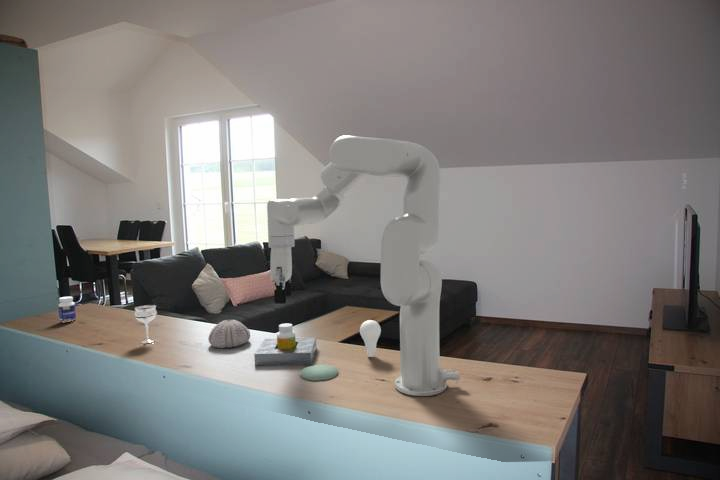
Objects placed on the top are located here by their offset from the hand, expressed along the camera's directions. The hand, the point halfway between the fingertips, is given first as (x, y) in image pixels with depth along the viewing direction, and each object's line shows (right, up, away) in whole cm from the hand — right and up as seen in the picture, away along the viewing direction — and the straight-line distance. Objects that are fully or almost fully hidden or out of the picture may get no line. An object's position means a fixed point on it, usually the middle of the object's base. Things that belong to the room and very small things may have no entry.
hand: (283, 299), depth 142 cm
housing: (+1, -17, +2) cm, 17 cm away
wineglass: (-49, -17, +20) cm, 56 cm away
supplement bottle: (+1, -18, +2) cm, 18 cm away
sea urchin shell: (-20, -17, +16) cm, 31 cm away
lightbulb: (+26, -17, -1) cm, 31 cm away
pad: (+12, -18, -13) cm, 25 cm away
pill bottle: (-94, -16, +51) cm, 108 cm away
